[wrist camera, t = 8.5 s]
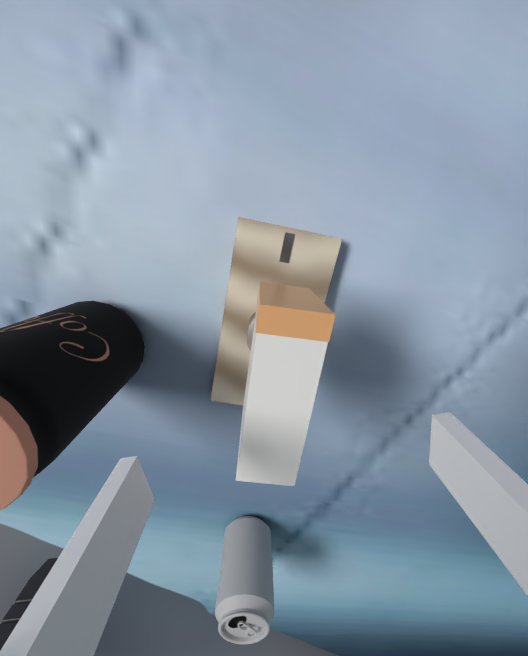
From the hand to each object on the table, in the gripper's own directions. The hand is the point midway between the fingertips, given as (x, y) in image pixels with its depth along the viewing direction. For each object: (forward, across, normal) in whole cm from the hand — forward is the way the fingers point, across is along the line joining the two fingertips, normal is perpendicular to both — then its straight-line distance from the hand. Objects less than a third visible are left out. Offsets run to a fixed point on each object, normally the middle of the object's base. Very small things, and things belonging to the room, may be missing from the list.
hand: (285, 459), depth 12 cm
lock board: (+21, 0, 0) cm, 21 cm away
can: (+21, -9, -35) cm, 41 cm away
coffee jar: (+21, -20, 0) cm, 30 cm away
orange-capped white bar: (+15, 0, 0) cm, 15 cm away
